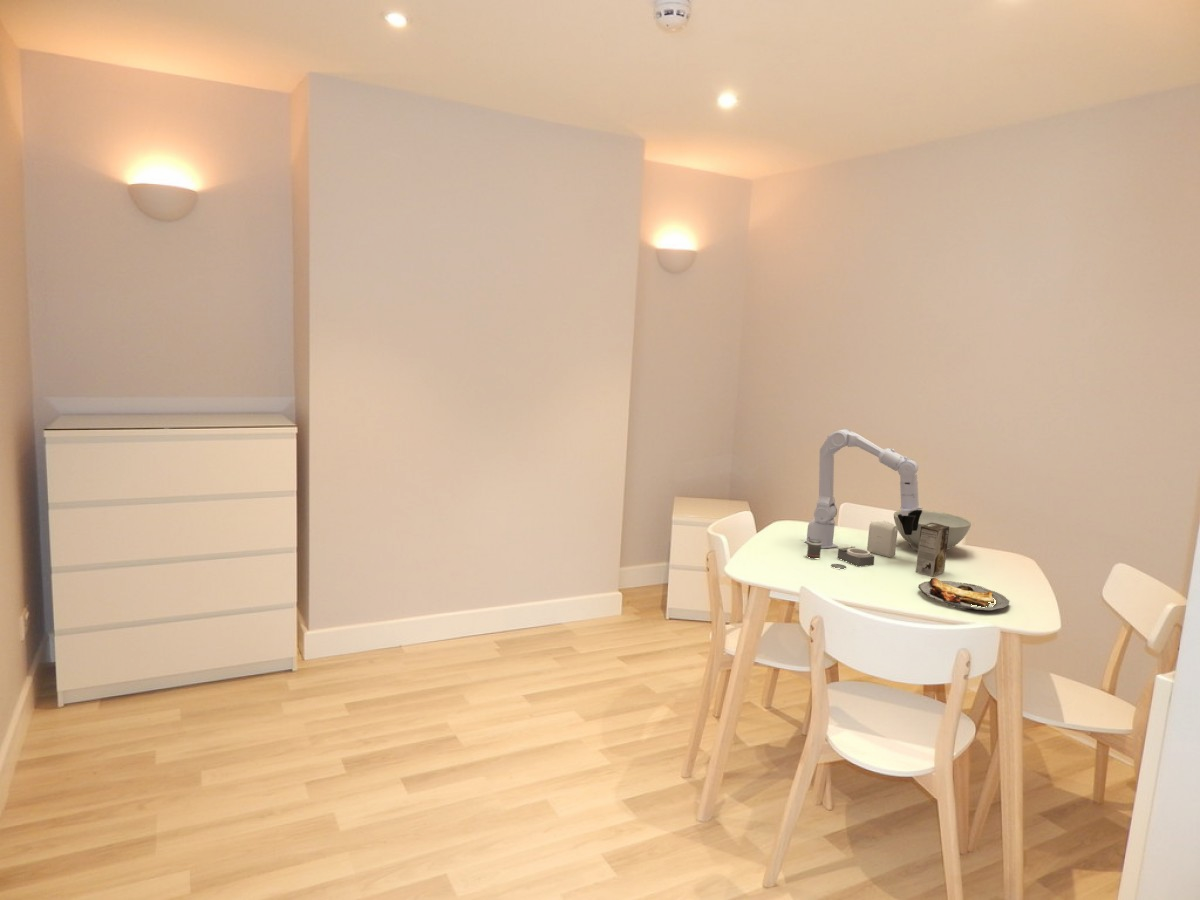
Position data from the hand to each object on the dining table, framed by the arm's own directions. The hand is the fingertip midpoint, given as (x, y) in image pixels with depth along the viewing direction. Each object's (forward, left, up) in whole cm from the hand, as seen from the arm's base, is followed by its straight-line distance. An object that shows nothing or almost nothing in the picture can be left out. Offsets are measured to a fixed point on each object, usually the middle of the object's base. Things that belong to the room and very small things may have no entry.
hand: (911, 532), depth 272 cm
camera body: (-6, -19, -11) cm, 23 cm away
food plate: (+35, -17, -11) cm, 40 cm away
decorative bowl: (-9, +22, -11) cm, 26 cm away
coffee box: (+12, -3, -11) cm, 16 cm away
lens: (-15, -30, -11) cm, 35 cm away
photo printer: (-10, -2, -11) cm, 15 cm away
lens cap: (-3, -30, -11) cm, 32 cm away
